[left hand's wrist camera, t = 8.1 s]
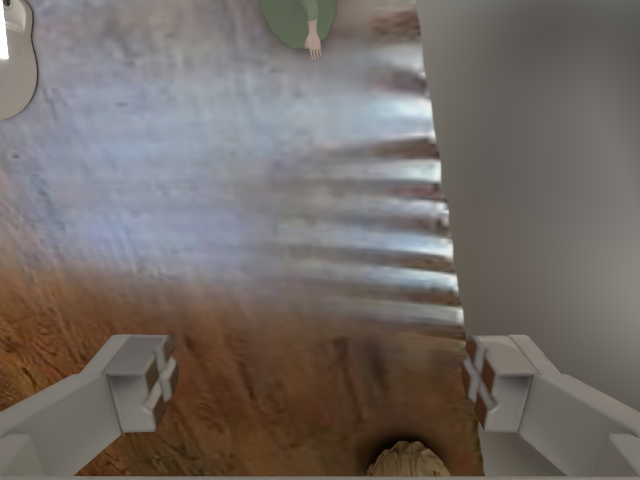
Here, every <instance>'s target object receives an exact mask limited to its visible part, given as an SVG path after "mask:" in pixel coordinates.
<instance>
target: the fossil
mask: <svg viewBox="0 0 640 480" xmlns="http://www.w3.org/2000/svg"><path fill="white" fill-rule="evenodd" d="M364 477H451V476H450V473H449V471H448V469H447V468H446V467H445V466H444V465H443V462H442V461H441V459H440V458H439V457H438V456H437V455H435V454H434V453H433V452H432V451H431V450H430V449H427V448H425V447H424V446H423V444H422V443H420V442H419V441H414V442H412V443H408V442H407V441H399V442H397V443H396V444H395V445H394V446H393V447H392V448H391V449H385V450H384V451H383V452H382V453H381V454H380V456H379V457H378V458H377V460H376V462H375V463H374V464H371V465H370V467H369V469H368V471H367V474H366V475H365V476H364Z"/></svg>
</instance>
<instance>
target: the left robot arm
mask: <svg viewBox="0 0 640 480" xmlns="http://www.w3.org/2000/svg"><path fill="white" fill-rule="evenodd" d="M7 1H8V0H0V120H4V119H8V118H10V117H13V116H15V115H17V114H18V113H20V112H21V111H22V110H23V109H24V108H25V107H26V106H27V105H28V103H29V102H30V100H31V98H32V96H33V94H34V91H35V87H36V82H37V65H36V59H35V54H34V51H33V47H32V42H31V31H32V20H33V17H32V10H31V8H30V6H29V5H28V4H27V3H26V2H25V1H24V0H10V6H9V5H8V3H7ZM174 349H175V347H174V342H173V338H172V337H171V336H169V335H114V336H111V337H110V339H109V340H108V341H107V342H106V343H105V344H104V346H103V347H102V348H101V349H100V350H99V351H98V352H97V354H96V355H95V356H94V357H93V358H92V359H91V361H90V362H89V363H88V364H87V365H86V366H85V368H84V369H83V370H82V371H81V372H80V373H79V374H73V375H71V376H69V377H67V378H65V379H63V380H61V381H59V382H57V383H55V384H53V385H51V386H50V387H48V388H46V389H44V390H42V391H40V392H38V393H36V394H34V395H32V396H30V397H28V398H26V399H25V400H23V401H21V402H19V403H17V404H15V405H13V406H11V407H9V408H7V409H5V410H3V411H2V412H0V480H640V412H638V411H636V410H634V409H633V408H631V407H629V406H627V405H625V404H623V403H621V402H619V401H617V400H615V399H613V398H611V397H610V396H608V395H606V394H604V393H602V392H600V391H598V390H596V389H594V388H592V387H590V386H588V385H587V384H585V383H583V382H581V381H579V380H577V379H575V378H573V377H571V376H569V375H567V374H560V372H559V371H558V370H557V369H556V368H555V366H554V365H553V364H552V363H551V362H550V361H549V360H548V358H547V357H546V356H545V355H544V354H543V353H542V351H541V350H540V349H539V348H538V347H537V346H536V344H535V343H534V342H533V341H532V340H531V339H530V337H528V336H526V335H524V334H523V335H506V336H469V337H468V339H467V341H466V347H465V349H466V351H467V353H468V354H469V356H468V357H467V358H466V359H465V360H464V361H463V365H462V382H463V386H464V389H465V392H466V394H467V396H468V398H470V399H471V400H472V401H474V402H475V403H476V405H475V410H474V411H475V413H476V415H477V417H478V419H479V421H480V423H481V425H482V427H483V429H484V431H486V432H519V435H520V436H521V437H523V438H524V439H525V440H526V441H527V442H528V443H530V444H531V445H532V446H533V447H534V448H535V449H537V450H538V451H539V452H540V453H541V454H542V455H544V456H545V457H546V458H547V459H548V460H549V461H550V462H552V463H553V464H554V465H555V466H556V467H557V468H559V469H560V470H561V471H562V472H563V473H564V474H566V475H567V476H568V477H353V476H216V477H102V476H73V475H75V474H76V473H77V472H78V471H79V470H80V469H82V468H83V467H84V466H85V465H86V464H87V463H89V462H90V461H91V460H92V459H93V458H94V457H96V456H97V455H98V454H99V453H100V452H101V451H102V450H104V449H105V448H106V447H107V446H108V445H109V444H111V443H112V442H113V441H114V440H115V439H116V438H118V437H119V436H120V435H121V432H153V431H156V429H157V427H158V425H159V423H160V421H161V419H162V417H163V415H164V413H165V411H166V410H165V405H164V403H165V402H166V401H168V400H169V399H170V398H172V396H173V394H174V392H175V390H176V386H177V381H178V364H177V361H176V360H175V359H174V358H173V357H172V356H171V354H172V353H173V351H174Z"/></svg>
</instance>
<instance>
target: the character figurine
mask: <svg viewBox="0 0 640 480" xmlns="http://www.w3.org/2000/svg"><path fill="white" fill-rule="evenodd" d="M259 3H260V8H261V10H262V13H263V15H264V17H265V19H266V21H267V23H268V25H269V27H270V29H271V31H272V33H273V34H274V35H276V36H277V37H278V38H279V39H280V40H281V41H282V42H284V43H285V44H286V45H287V46H288V47H290V48H299V49H309V51H310V54H311V59H312V61H313V54H314V59H315V61H316V54H317V58H318V59H319V54H320V57H321V56H322V55H321V43H320V42H321V41H322V40H324V39H325V38H326V37H327V35H328V33H329V30H330V28H331V25H332V23H333V20H334V18H335V15H336V0H259ZM312 50H313V54H312ZM315 50H316V54H315ZM318 50H319V54H318Z"/></svg>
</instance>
